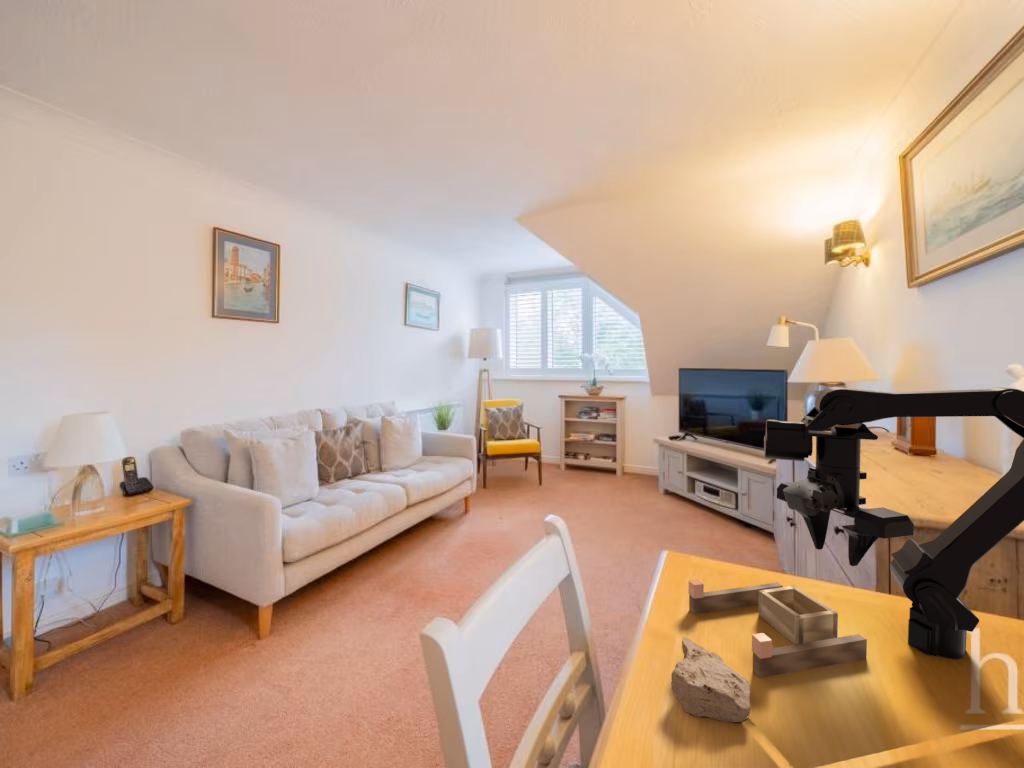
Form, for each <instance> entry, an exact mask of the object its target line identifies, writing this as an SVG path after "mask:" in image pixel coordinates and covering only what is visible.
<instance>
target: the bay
mask: <svg viewBox="0 0 1024 768" xmlns="http://www.w3.org/2000/svg"><path fill="white" fill-rule="evenodd" d="M704 586H705V585H704V583H703V582H702V581H701V580H699V579H691V580H688V596H689V597H688V598H689V599H688V600H689V601H688V602H689V603H688V604H689V605H688V606H689V608H688V609H689V612H690V613H691V614H692V615H699V614H705V613H706V614H707V613H712V612H713V613H714V612H719V611H726V610H732V609H733V610H735V609H741V608H748V607H754V606H759V590H766V589H773V588H781V587H784V586H783V584H780V583H779V582H770V583H762V584H755V585H746V586H741V587H733V588H725V589H720V590H719V589H718V590H711V591H710V590H709V591H705V592H704ZM867 643H868V638H865V637H864V636H862V635H861V634H859V633H858V634H857V633H856V634H852V635H851V634H850V635H845V636H839V637H838V636H837V638H832V639H826V640H820V641H814V642H808V643H802V644H797V645H795V644H791V645H785V646H780V647H779V646H778V647H774V648H773V639H771V638H770V637H769V636H768V635H766V634H765V633H764V632H759V633H752V634H751V652H752V673H753V674H754V675H755V676H756V677H757V678H758V679H763V678H768V677H774V676H779V675H784V674H790V673H796V672H801V671H807V670H813V669H818V668H824V667H829V666H834V665H840V664H845V663H852V662H855V661H856V662H857V661H861V660H866V659H867V649H868V647H867V645H868V644H867Z"/></svg>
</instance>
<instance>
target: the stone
mask: <svg viewBox="0 0 1024 768" xmlns="http://www.w3.org/2000/svg"><path fill="white" fill-rule="evenodd" d="M681 644H682V645H681V649H682V653H683V659H681V660H680V661H679V662H676V664H675V668H674V669H673V670H672V672H671V679H670V680H671V684H670V685H671V690H672V692H673V694H674V696H675V697H676V699H677V701H679V702H680V704H681V706H682V708H683V709H684V710H685V711H686V712H687V713H688V714H691V715H692V716H694V717H707V718H711V719H713V720H718V721H721V722H725V723H727V722H728V723H731V722H734V723H740V722H743V721H745V720H746V719H747V718H749V716H750V713H751V684H750V683H749V681H748V680H747V678H746V677H744V676H743V675H742V674H740V673H739V672H738V671H736V670H735V669H733V668H731V667H730V666H729V665H728V664H727V663H726V662H724V660H723V658H722V657H721V656H719V654H717V653H716V652H711V651H709V650H707V649H706V648H705V647H703V646H701V645H699V644H697V643H696V642H694V641H693V640H691V639H690V638H688V637H686V636H683V637H682V640H681Z"/></svg>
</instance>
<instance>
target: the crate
mask: <svg viewBox="0 0 1024 768" xmlns="http://www.w3.org/2000/svg"><path fill="white" fill-rule="evenodd" d="M758 617H759V618H761V620H763V621H764V622H766V623H767V624H768V625H769V626H771V627H772V628H774V630H775V631H776V632H778V633H780V634H781V635H782V636H783V637H784V638H787V640H788V641H790V642H792V644H793V645H797V644H802V643H808V642H814V641H820V640H826V639H832V638H838V628H839V625H838V620H839V619H838V618H839V613H838V612H837V611H836V610H834V609H832V608H831V607H829V606H827V605H826V604H824V603H822V602H821V601H819V600H818V599H817V598H814V597H813V596H811V595H810V594H808V593H806V592H805V591H803V590H802V589H800V588H798V587H797V586H795V585H788V586H783V587H781V588H773V589H766V590H759V605H758Z"/></svg>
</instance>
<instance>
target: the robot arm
mask: <svg viewBox="0 0 1024 768" xmlns="http://www.w3.org/2000/svg"><path fill="white" fill-rule="evenodd" d="M922 417H923V418H925V417H926V418H927V417H929V418H931V417H932V418H933V417H936V418H937V417H938V418H941V417H945V418H947V417H949V418H950V417H951V418H952V417H954V418H955V417H956V418H957V417H994V418H996V419H997V420H998V421H1000V423H1002V424H1003V425H1004V426H1005V427H1007V428H1008V429H1009V430H1011V431H1012V432H1013V433H1014V434H1016V435H1018V436H1019V437H1021V438H1022V441H1021V442H1020V443H1019V444H1018V446H1017V447H1016V449H1015V452H1014V456H1013V460H1012V462H1011V466H1010V469H1008V471H1007V472H1006V473H1005V474H1004V475H1003V476H1002V477H1001V478H1000V479H998V480H997V481H996V482H995V483H994V484H993V485H992V486H991V487H990V488H988V490H986V491H985V493H983V494H982V495H981V496H980V497H979V498H978V499H977V500H976V501H974V503H973V504H971V505H970V506H969V507H968V508H967V509H966V510H965V511H964V512H963V513H962V514H961V515H960V516H958V517H957V518H956V519H955V520H954V521H953V522H952V523H951V524H950V525H948V526H947V527H946V528H945V529H944V530H943V531H942V532H941V533H940V534H939V535H937V537H936V538H934V539H932V540H930V541H927V542H923V543H920V544H919V543H917V542H916V541H915V540H914V539H913V538H908V539H907V540H906V541H905V542H904V544H903V545H902V547H901V548H900V549H898V550H897V551H895V552H892V553H891V554H890V556H891V557H892V560H891V562H890V564H889V568H890V573H891V576H892V577H893V579H894V580H895V581H896V583H897V584H898V586H899V587H900V589H901V590H902V592H903V593H904V595H905V596H906V598H907V599H908V600H909V601H910V602H911V607H909V616H908V617H909V619H908V623H907V624H908V627H907V645H909V646H910V647H912V648H914V649H916V650H917V651H919V652H921V653H922V654H924V655H926V656H932V657H940V658H944V659H949V660H961V659H964V658H965V657H966V656H965V655H966V651H967V632H969V633H970V632H971V633H972V632H974V630H975V629H976V627H977V625H978V624H979V623H980V619H979V618H978V617H977V616H976V615H975V613H974V612H973V611H972V610H971V609H970V608H969V606H967V604H966V603H964V601H963V600H962V599H961V598H960V596H961V594H962V593H963V592H964V590H965V589H966V587H967V583H968V581H969V578H970V577H969V576H970V573H971V569H972V568H973V566H974V565H975V564H976V563H977V562H979V560H981V559H982V558H983V557H984V556H985V555H986V554H987V553H989V552H990V551H991V550H992V549H993V548H994V547H996V546H997V545H998V544H999V543H1000V542H1001V541H1002V540H1004V539H1005V538H1006V537H1007V536H1008V535H1009V534H1010V533H1012V532H1013V531H1014V530H1015V529H1016V528H1018V526H1020V525H1021V524H1022V523H1023V522H1024V390H1021V389H1017V388H1010V387H1009V388H1008V387H998V386H996V387H991V388H990V387H989V388H983V389H956V390H955V389H953V390H952V389H951V390H950V389H949V390H923V391H922V390H921V391H893V392H891V391H889V392H887V391H886V392H885V391H876V390H870V389H869V390H867V389H860V388H852V387H850V388H849V387H840V386H833V387H832V386H831V387H827V388H824V389H823V390H821V391H820V392H819V393H818V394H817V395H816V397H815V399H814V406H813V408H812V409H810V411H809V412H807V414H806V415H804V417H803V418H802V419H801V420H800V421H786V420H778V419H766V420H765V435H764V437H763V449H764V451H763V453H764V455H763V456H764V458H765V459H769V460H771V459H772V460H781V461H794V462H804V461H805V459H809V457H812V455H813V449H814V448H813V437H815V466H813V467H809V468H808V470H807V477H806V478H805V479H801V480H798V481H790V482H781V483H780V484H779V485H778V486H777V488H776V499H777V500H778V499H779V500H780V501H783V502H786V504H787V507H788V508H789V509H790V510H794V511H796V512H797V513H799V514H800V515H801V516H802V518H803V520H804V523H805V525H806V527H807V530H808V532H809V536H810V537H811V540H812V542H813V546H814V548H815V549H816V550H819V551H820V550H823V548H824V545H825V542H826V538H827V533H828V527H829V521H830V518H831V517H830V516H831V511H833V512H836V513H839V514H841V515H844V516H847V517H848V518H852V519H853V520H852V524H846V525H841V528H843V530H844V531H845V532H846V534H847V536H848V539H847V540H848V541H847V542H848V544H847V545H848V549H847V553H848V554H847V555H848V557H847V558H848V564H849V566H850V567H857V566H858V565H859V563H860V562H861V561H862V559H863V558H864V556H865V555H867V553H868V551H869V550H870V548H871V547H872V546H873V544H874V543H875V542H876V541H877V540H878V539H879V538H880V539H884V540H885V539H891V538H892V539H893V538H900V537H910V536H914V531H915V530H914V529H915V528H914V521H913V519H912V518H910V517H909V515H907V514H904V513H901V512H898V511H896V510H892V509H890V508H886V507H884V506H883V507H875V508H874V507H873V508H864V507H860V506H861V505H866V504H867V497H864V496H862V495H861V496H860V489H861V488H860V487H861V486H860V485H861V484H860V483H861V481H860V480H867V472H865V471H862V470H861V446H862V445H861V440H870V441H871V440H872V441H877V440H878V439H879V437H878V435H877V434H875V433H874V432H872V431H871V430H870V429H869V427H868V426H867V425H866V424H865V423H871V422H875V421H879V420H884V419H892V418H922ZM837 425H838V426H837ZM851 425H855V426H851ZM830 428H831V429H830ZM828 429H830V430H828Z"/></svg>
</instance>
